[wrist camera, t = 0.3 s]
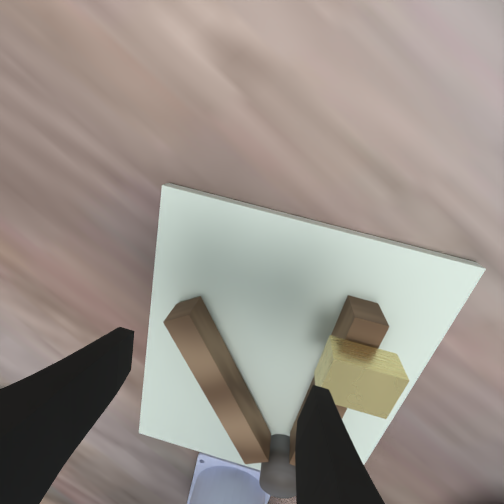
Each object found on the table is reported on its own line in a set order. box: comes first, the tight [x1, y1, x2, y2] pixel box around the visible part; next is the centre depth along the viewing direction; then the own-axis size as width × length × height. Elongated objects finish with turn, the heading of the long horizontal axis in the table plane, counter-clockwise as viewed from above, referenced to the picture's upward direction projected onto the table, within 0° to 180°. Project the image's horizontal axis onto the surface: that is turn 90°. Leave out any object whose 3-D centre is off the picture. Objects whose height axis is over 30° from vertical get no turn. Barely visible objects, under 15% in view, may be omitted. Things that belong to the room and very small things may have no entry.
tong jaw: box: [163, 296, 271, 464], centre depth 21 cm, size 14×2×2 cm, turn 22°
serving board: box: [139, 183, 486, 470], centre depth 22 cm, size 24×20×1 cm
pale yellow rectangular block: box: [314, 335, 409, 419], centre depth 16 cm, size 3×4×2 cm
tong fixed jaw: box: [259, 295, 390, 498], centre depth 21 cm, size 18×4×3 cm, turn 167°
